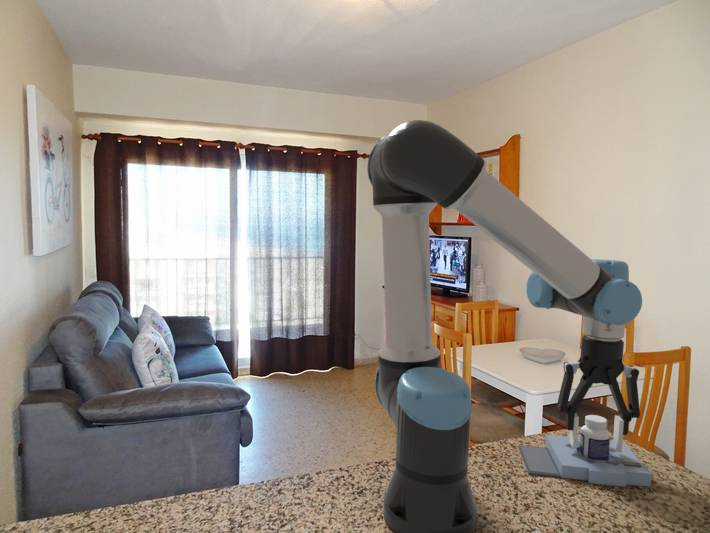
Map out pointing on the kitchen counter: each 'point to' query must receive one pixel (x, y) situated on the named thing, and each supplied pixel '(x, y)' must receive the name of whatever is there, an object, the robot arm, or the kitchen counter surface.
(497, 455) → the kitchen counter surface
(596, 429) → the pill bottle
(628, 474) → the dock
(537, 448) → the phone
